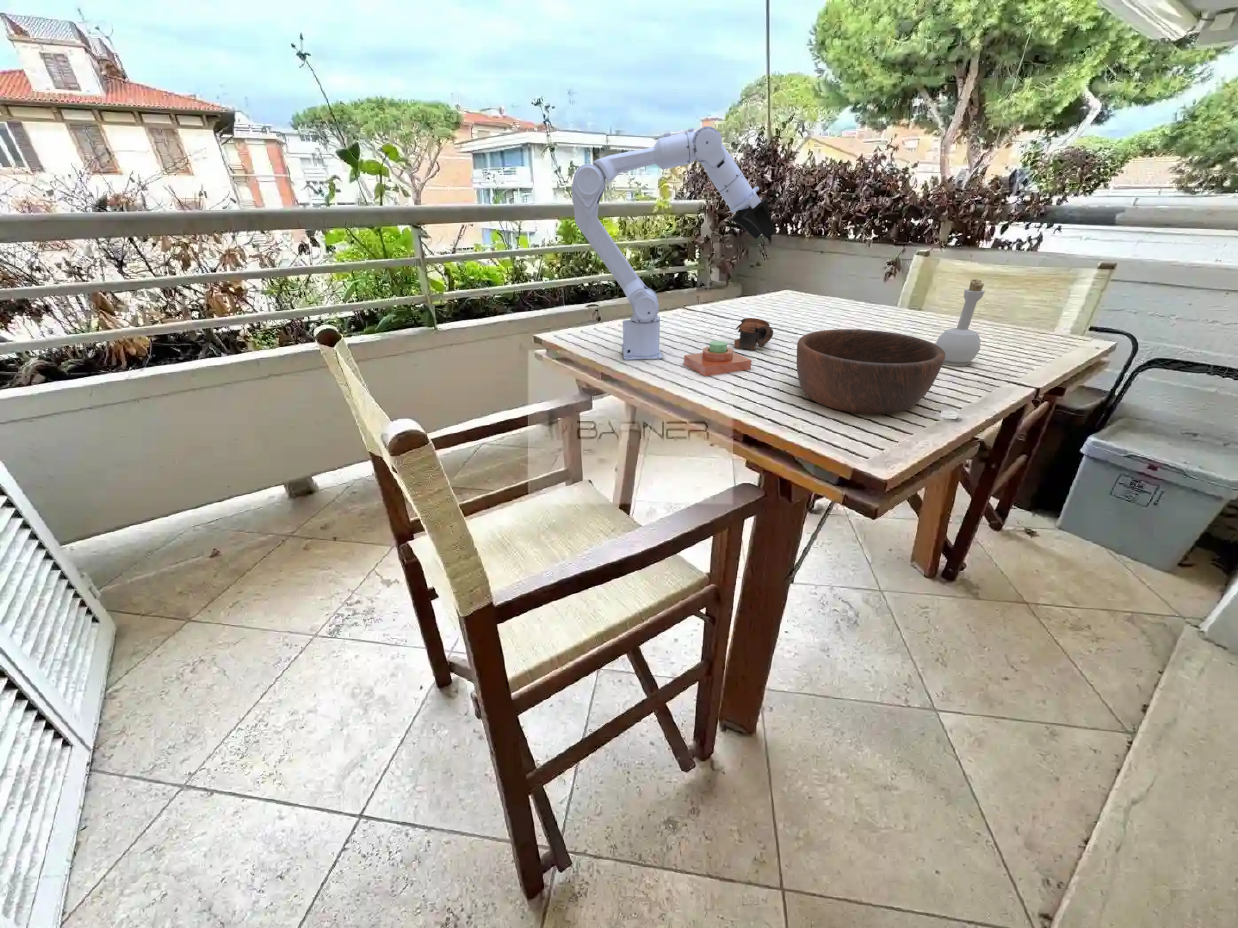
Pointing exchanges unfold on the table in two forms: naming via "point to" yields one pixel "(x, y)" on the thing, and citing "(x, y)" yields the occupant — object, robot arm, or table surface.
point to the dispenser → (717, 362)
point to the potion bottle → (963, 331)
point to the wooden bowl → (867, 369)
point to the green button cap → (718, 346)
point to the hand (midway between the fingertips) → (764, 235)
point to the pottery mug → (753, 333)
